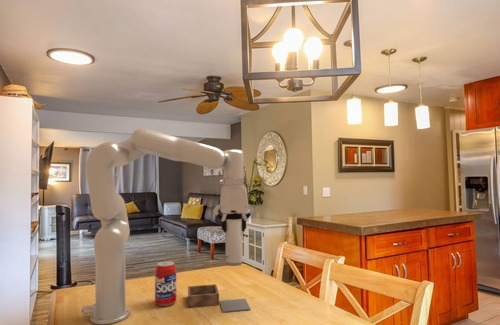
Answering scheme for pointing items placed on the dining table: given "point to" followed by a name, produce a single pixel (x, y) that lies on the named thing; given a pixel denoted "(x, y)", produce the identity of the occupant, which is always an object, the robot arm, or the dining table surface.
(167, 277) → the soda can
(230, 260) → the travel mug
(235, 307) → the rubber mat
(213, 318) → the dining table surface
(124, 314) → the robot arm
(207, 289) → the brown wooden tray
